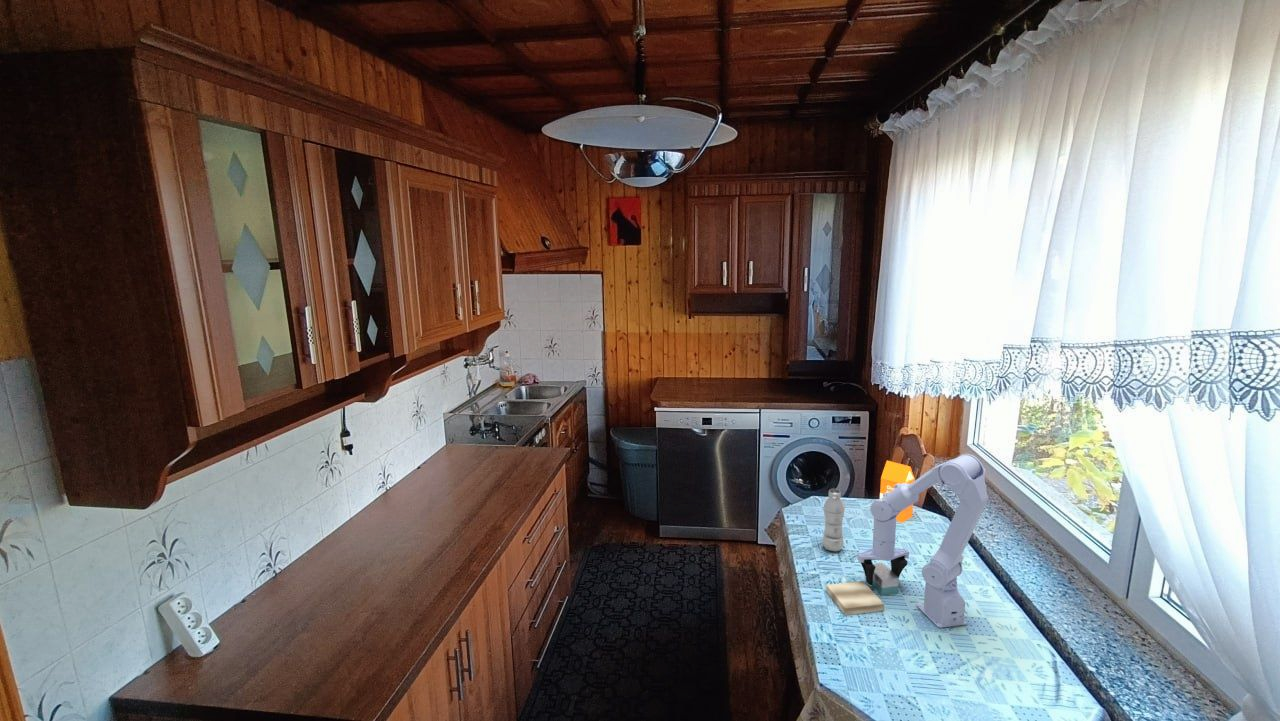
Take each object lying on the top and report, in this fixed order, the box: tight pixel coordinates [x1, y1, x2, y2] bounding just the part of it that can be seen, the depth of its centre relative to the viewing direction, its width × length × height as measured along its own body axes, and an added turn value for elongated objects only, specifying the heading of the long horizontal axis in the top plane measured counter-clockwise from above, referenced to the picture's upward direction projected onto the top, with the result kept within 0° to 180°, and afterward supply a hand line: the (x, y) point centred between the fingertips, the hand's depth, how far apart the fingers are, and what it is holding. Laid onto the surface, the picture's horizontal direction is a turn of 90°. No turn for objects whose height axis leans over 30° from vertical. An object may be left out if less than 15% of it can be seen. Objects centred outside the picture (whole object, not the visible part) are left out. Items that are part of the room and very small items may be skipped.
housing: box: [870, 562, 900, 597], centre depth 159 cm, size 8×5×5 cm, turn 9°
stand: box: [825, 580, 885, 616], centre depth 153 cm, size 11×11×2 cm
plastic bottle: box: [822, 488, 846, 553], centre depth 179 cm, size 6×7×20 cm
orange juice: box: [879, 460, 916, 524], centre depth 200 cm, size 8×9×20 cm
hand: (881, 581), depth 159 cm, fingers open, 7 cm apart
